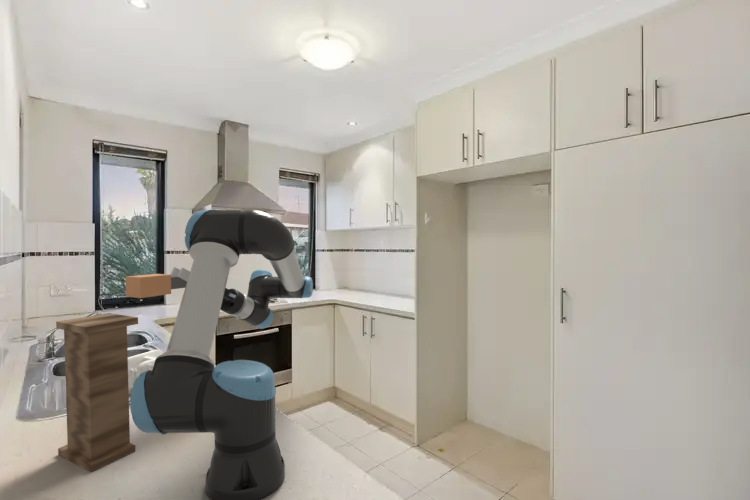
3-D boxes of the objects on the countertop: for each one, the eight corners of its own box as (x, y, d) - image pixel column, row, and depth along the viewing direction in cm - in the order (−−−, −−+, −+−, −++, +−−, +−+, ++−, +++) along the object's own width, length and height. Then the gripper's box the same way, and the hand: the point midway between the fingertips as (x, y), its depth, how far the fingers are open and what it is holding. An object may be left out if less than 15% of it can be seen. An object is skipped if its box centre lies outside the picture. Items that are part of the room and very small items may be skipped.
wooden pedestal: (143, 447, 92) (140, 317, 91) (91, 472, 82) (87, 327, 81) (110, 433, 98) (106, 312, 97) (58, 454, 89) (54, 321, 88)
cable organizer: (163, 380, 135) (162, 347, 134) (184, 385, 130) (184, 350, 130) (119, 397, 121) (118, 359, 121) (141, 402, 117) (140, 364, 116)
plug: (207, 288, 112) (206, 271, 111) (140, 298, 95) (140, 277, 95) (193, 287, 114) (192, 270, 114) (126, 296, 98) (125, 276, 97)
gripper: (249, 317, 119) (189, 286, 101) (214, 312, 127) (152, 283, 109) (258, 294, 123) (201, 260, 104) (223, 291, 130) (164, 259, 112)
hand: (176, 272), depth 106 cm, fingers closed on plug, 3 cm apart
